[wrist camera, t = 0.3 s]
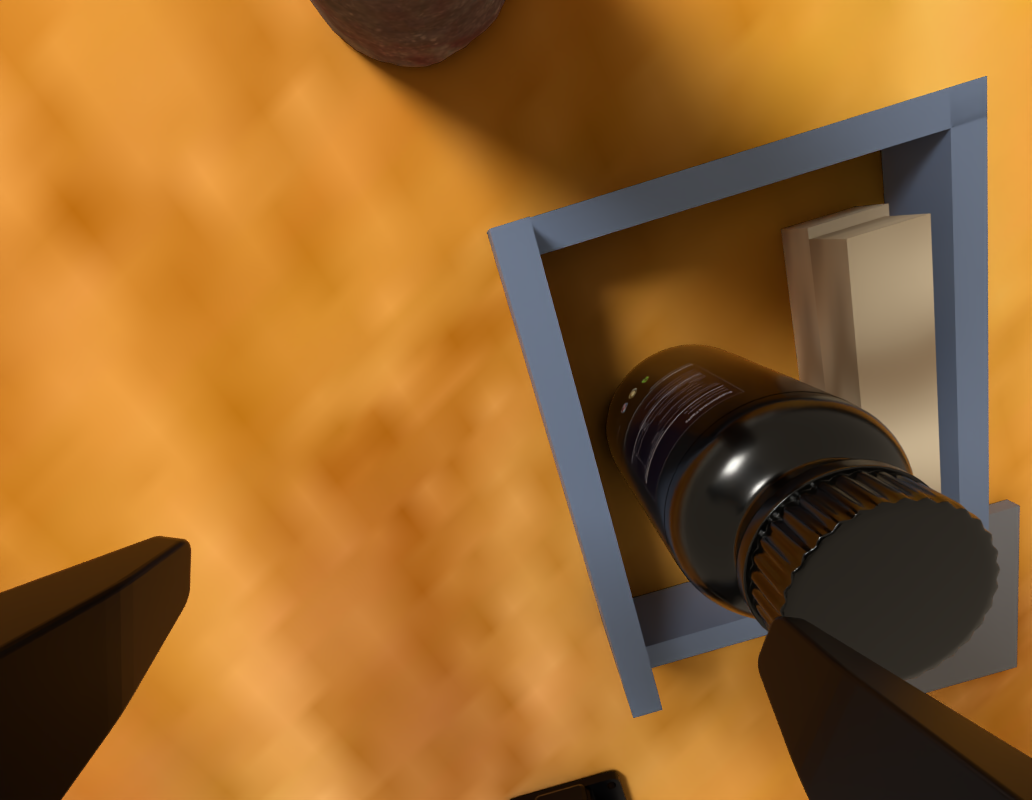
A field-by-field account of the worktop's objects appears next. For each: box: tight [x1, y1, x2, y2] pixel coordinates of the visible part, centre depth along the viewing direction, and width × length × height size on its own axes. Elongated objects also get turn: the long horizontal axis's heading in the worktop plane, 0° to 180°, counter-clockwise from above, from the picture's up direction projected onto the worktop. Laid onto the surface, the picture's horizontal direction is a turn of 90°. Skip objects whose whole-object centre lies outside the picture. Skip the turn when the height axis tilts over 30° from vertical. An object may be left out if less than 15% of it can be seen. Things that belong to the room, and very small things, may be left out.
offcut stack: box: [781, 203, 941, 493], centre depth 20 cm, size 13×3×4 cm, turn 16°
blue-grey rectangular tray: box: [487, 76, 989, 718], centre depth 20 cm, size 19×16×5 cm
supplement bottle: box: [606, 344, 1000, 681], centre depth 16 cm, size 7×7×12 cm
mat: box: [905, 500, 1020, 693], centre depth 26 cm, size 10×10×1 cm
